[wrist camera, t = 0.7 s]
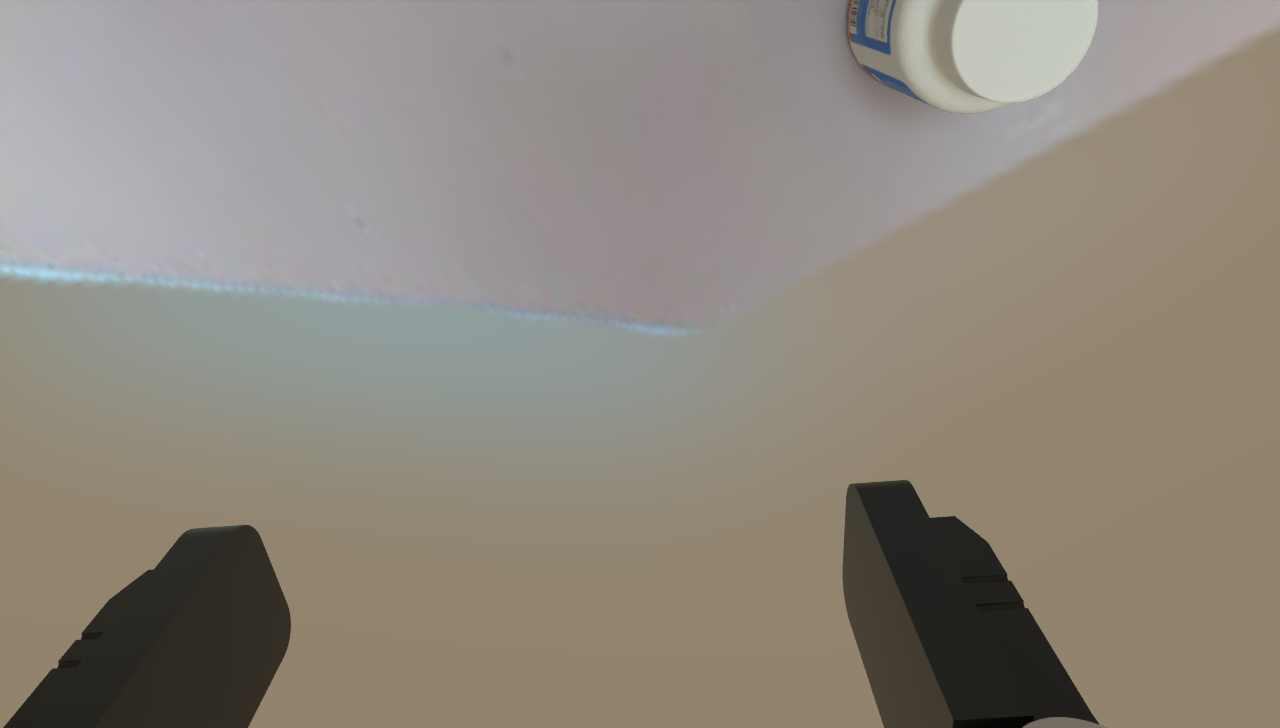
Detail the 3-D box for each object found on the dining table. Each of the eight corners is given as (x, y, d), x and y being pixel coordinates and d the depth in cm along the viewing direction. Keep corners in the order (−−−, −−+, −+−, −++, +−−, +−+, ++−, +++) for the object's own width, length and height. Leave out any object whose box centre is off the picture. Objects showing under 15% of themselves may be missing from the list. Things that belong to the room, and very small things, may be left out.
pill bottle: (1005, 36, 30) (1152, 67, 22) (879, 113, 32) (970, 170, 23) (952, -101, 28) (1092, -128, 19) (819, -12, 29) (896, -2, 21)
